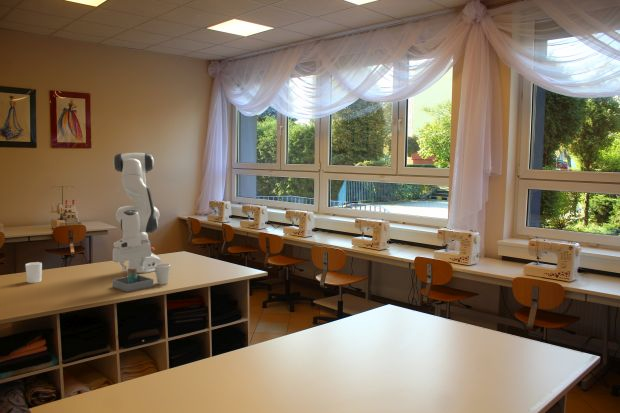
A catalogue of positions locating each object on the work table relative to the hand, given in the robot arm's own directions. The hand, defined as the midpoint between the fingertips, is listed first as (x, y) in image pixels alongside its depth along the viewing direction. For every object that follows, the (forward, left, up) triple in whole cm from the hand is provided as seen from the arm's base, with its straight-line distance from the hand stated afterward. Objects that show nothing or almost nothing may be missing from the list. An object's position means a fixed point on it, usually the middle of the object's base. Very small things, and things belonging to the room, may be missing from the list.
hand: (133, 267), depth 261 cm
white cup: (+32, -50, -10) cm, 60 cm away
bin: (+1, 0, -10) cm, 10 cm away
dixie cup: (-14, +4, -10) cm, 18 cm away
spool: (+1, 0, -10) cm, 10 cm away
